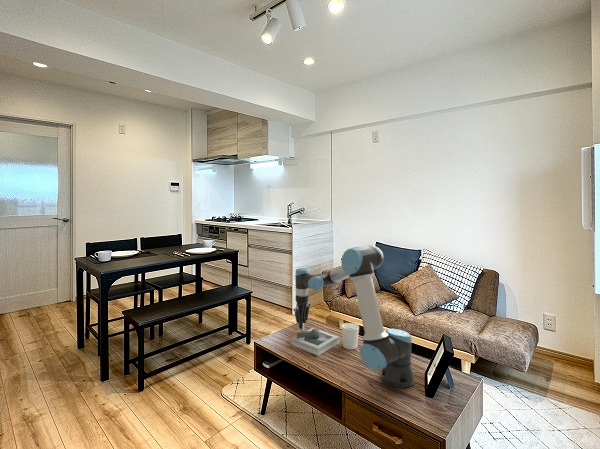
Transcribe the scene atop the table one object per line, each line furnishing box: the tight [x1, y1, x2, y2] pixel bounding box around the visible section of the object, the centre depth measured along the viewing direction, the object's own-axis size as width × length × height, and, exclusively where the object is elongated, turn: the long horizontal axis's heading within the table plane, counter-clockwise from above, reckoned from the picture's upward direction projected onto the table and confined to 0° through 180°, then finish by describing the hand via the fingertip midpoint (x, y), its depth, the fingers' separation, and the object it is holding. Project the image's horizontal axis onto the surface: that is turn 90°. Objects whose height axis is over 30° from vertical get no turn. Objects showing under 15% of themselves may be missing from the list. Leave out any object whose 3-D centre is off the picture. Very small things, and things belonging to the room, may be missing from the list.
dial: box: [296, 328, 326, 345], centre depth 187 cm, size 18×13×6 cm
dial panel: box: [290, 327, 340, 356], centre depth 187 cm, size 20×20×4 cm
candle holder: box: [341, 322, 360, 350], centre depth 184 cm, size 10×10×12 cm
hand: (302, 333), depth 189 cm, fingers closed
